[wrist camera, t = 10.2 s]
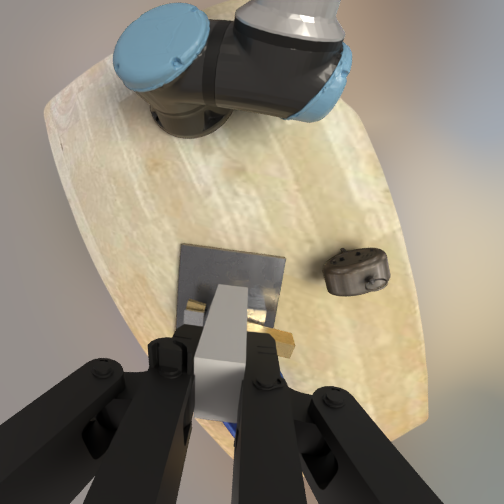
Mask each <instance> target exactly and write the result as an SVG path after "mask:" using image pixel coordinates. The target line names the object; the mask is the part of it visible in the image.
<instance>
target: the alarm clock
mask: <svg viewBox="0 0 504 504" xmlns="http://www.w3.org/2000/svg"><path fill="white" fill-rule="evenodd" d="M341 251H342V252H343V253H342V254H339V255H337V256H335V257H333V258H331V259H330V260H328V261H327V262H326V263H325V265H324V267H323V274H324V278H325V282H326V286H327V290H328V292H329V293H330V294H333V295H336V296H356V295H361V294H365V293H368V292H371V291H378V290H381V289H383V288H385V287H386V286H387V284H388V281H389V279H390V276H391V275H390V271H389V265H388V259H387V255H386V253H385V252H384V251H383V250H381V249H378V248H362V249H356V250H352V251H346V250H345V249H344V248H341ZM384 284H385V285H384ZM383 285H384V286H383ZM381 286H382V287H381Z"/></svg>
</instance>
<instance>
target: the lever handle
mask: <svg viewBox="0 0 504 504" xmlns="http://www.w3.org/2000/svg"><path fill="white" fill-rule="evenodd" d="M205 308H206V304H205V303H202V302H199V301H196V300H192V299H189V300H188V303H187V307H186V309H192V310H198V311H205ZM247 331H250V332H260V333H269V334H270V335H271V336H272V337H273V338H274V339H275V342H276V349H277V355H278V356H280V357H285V358H290V357H291V354H292V352H293V350H294V348H295V343H294V340H293V336H292V333H288V332H284V331H280V330H276V329H273V328H269V327H265V326H261V325H257V324H253V323H250V322H247Z"/></svg>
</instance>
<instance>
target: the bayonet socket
mask: <svg viewBox="0 0 504 504" xmlns="http://www.w3.org/2000/svg"><path fill="white" fill-rule="evenodd" d="M285 261H286V258H285V257H280V256H273V255H266V254H258V253H251V252H244V251H237V250H229V249H222V248H215V247H207V246H200V245H193V244H185V243H183V244H182V246H181V258H180V270H179V285H178V303H177V327H176V329H177V328H179V327H180V326H182V325H183V324H189V325H196V326H203V327H204V326H205V323H206V320H207V317H208V314H209V311H210V308H211V305H212V302H213V299H214V296H215V293H216V290H217V287H218V284H222V285H230V286H239V287H247V288H248V303H247V322H250V323H253V324H257V325H261V326H265V327H269V328H273V327H274V322H275V317H276V311H277V306H278V301H279V295H280V290H281V284H282V279H283V273H284V267H285ZM189 299H192V300H196V301H199V302H202V303H205V304H206V308H205V311H198V310H192V309H186V307H187V303H188V300H189Z"/></svg>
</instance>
